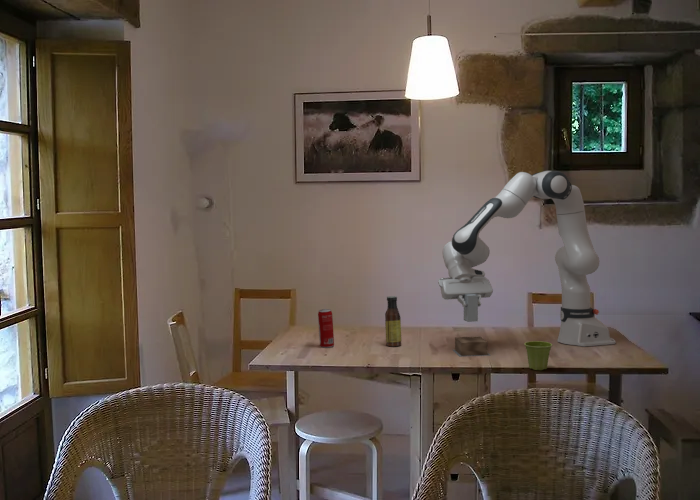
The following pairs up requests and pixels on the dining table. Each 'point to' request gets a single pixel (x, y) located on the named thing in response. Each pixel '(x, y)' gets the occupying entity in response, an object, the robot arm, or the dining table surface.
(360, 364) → the dining table surface
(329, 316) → the beverage can
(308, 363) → the dining table surface
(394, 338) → the sauce bottle
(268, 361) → the dining table surface
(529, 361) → the plant pot
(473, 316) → the pillar block
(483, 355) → the grey mat
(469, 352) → the walnut base block
